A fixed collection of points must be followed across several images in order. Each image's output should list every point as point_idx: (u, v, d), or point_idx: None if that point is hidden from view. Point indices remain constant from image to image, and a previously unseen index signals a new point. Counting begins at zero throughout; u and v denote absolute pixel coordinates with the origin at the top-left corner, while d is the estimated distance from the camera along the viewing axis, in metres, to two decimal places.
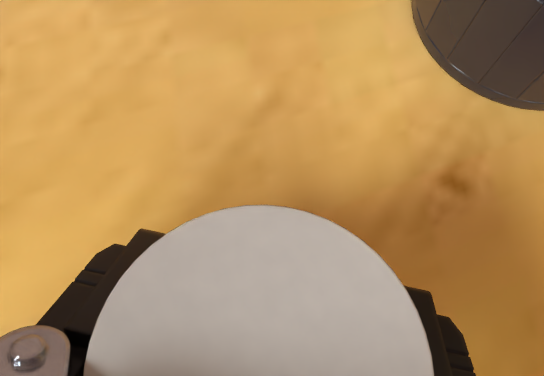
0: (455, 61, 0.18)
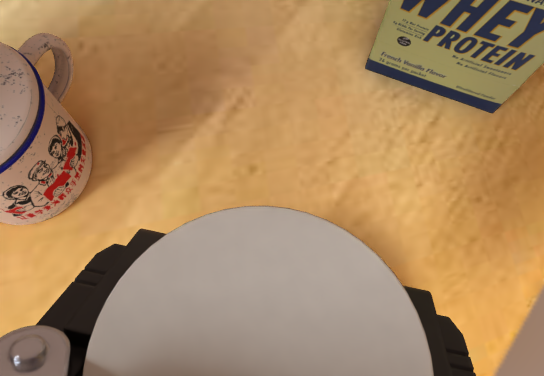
0: None
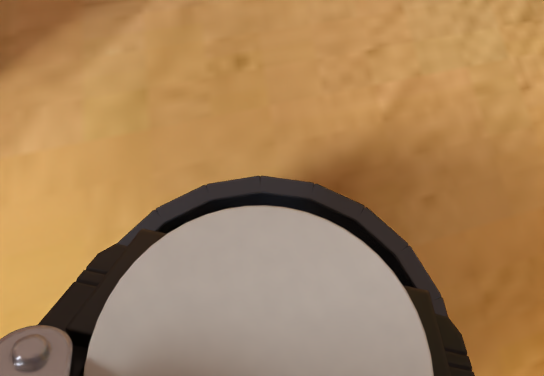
0: None
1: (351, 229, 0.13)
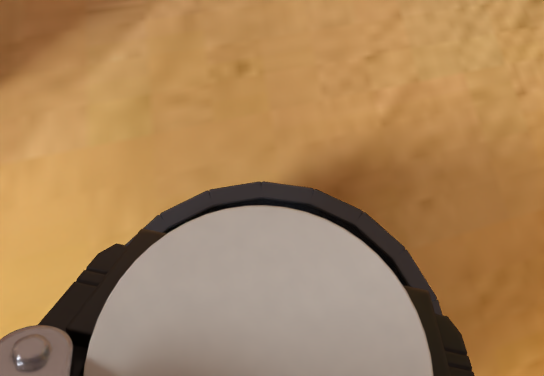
0: None
1: None
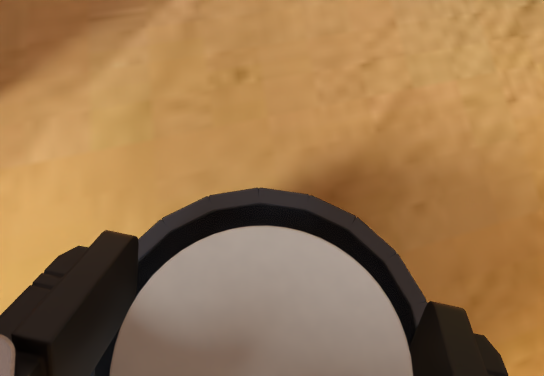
0: None
1: (343, 237, 0.14)
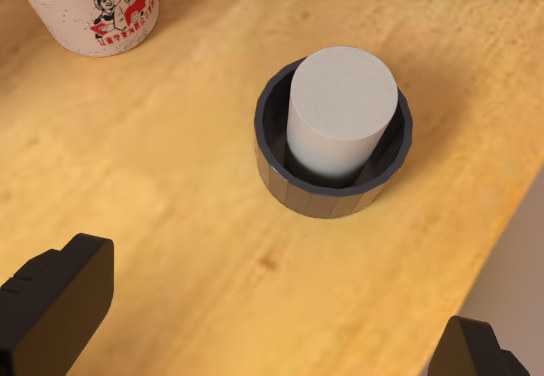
0: (272, 191, 0.30)
1: None
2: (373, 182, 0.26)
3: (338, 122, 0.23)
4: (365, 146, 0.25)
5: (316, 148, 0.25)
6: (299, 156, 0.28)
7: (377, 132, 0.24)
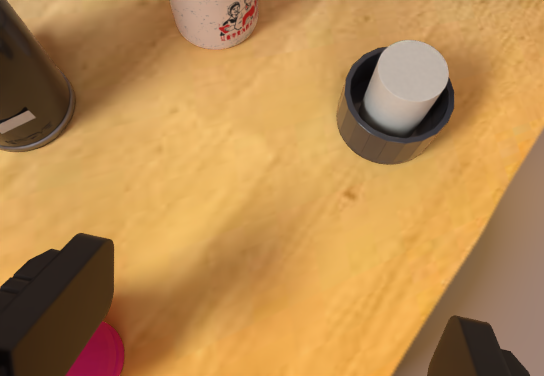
0: (351, 144, 0.43)
1: None
2: (429, 133, 0.38)
3: (410, 90, 0.36)
4: (426, 107, 0.37)
5: (392, 109, 0.37)
6: (375, 117, 0.40)
7: (436, 96, 0.36)
